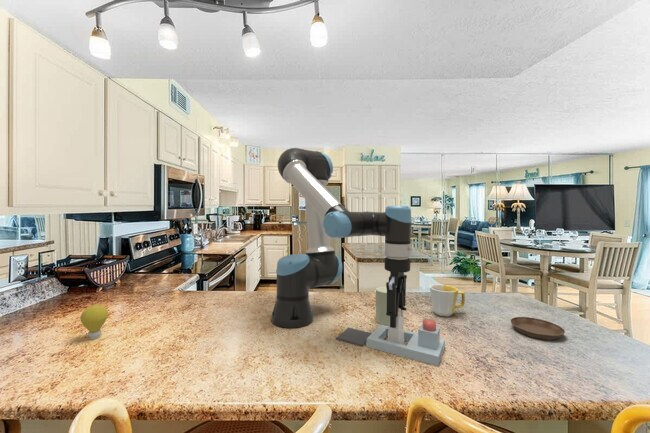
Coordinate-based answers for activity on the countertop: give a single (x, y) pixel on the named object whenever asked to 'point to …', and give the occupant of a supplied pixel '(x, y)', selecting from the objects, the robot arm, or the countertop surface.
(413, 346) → the frame
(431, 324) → the plunger
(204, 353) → the countertop surface
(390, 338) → the pepper shaker
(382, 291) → the can
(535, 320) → the saucer
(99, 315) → the light bulb
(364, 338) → the mat
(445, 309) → the mug
